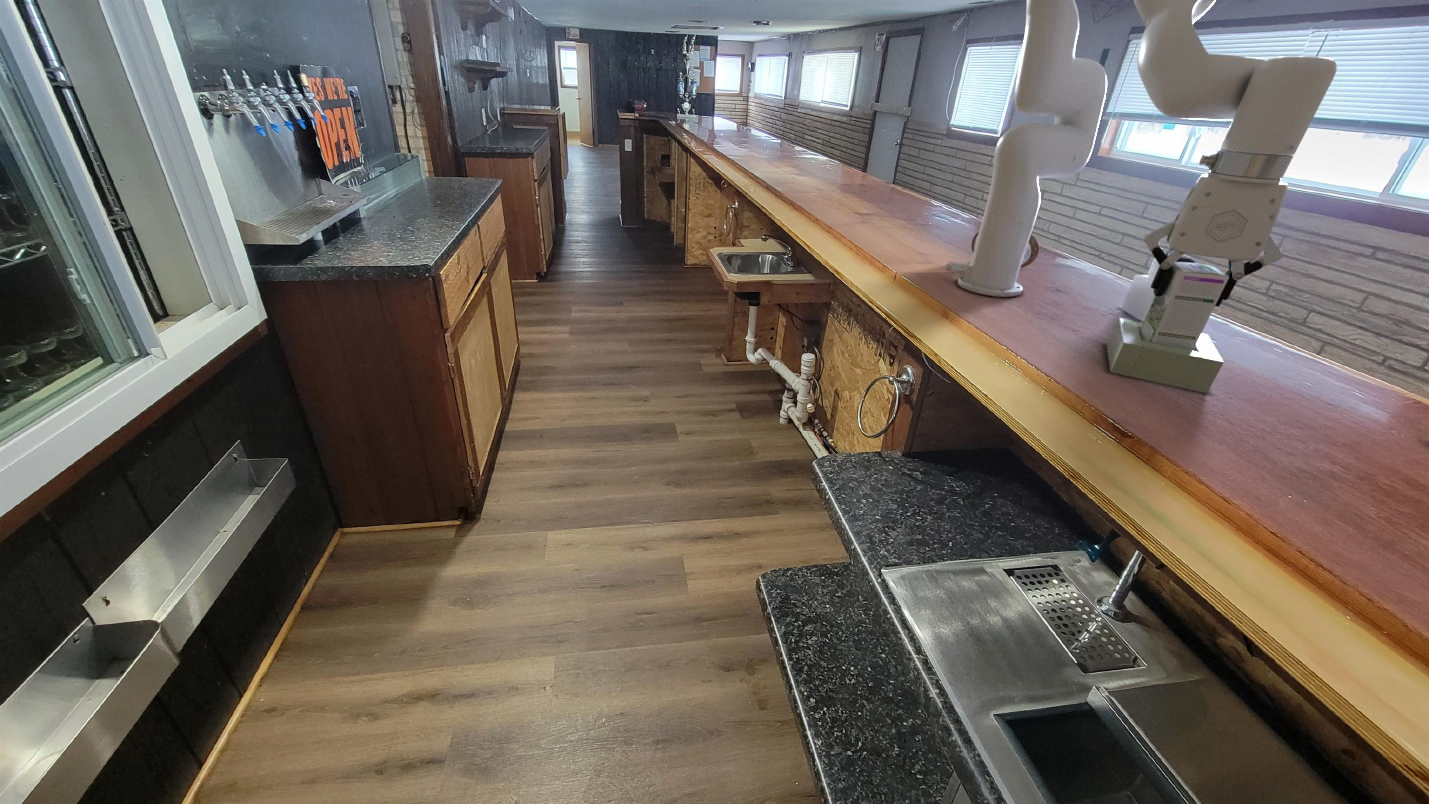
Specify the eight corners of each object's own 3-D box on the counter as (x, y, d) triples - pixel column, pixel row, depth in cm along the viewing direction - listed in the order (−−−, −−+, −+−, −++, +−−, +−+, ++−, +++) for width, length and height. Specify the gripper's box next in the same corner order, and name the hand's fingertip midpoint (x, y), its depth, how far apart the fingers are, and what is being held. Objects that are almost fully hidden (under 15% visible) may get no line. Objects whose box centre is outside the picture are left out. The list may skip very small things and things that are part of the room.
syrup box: (1184, 370, 84) (1234, 276, 77) (1139, 363, 86) (1184, 270, 78) (1171, 355, 89) (1216, 265, 82) (1128, 348, 90) (1169, 259, 83)
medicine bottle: (1157, 311, 111) (1185, 251, 106) (1179, 325, 105) (1210, 261, 99) (1119, 308, 112) (1145, 248, 106) (1139, 322, 106) (1167, 258, 100)
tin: (1032, 270, 134) (1044, 235, 129) (1027, 273, 132) (1039, 236, 127) (971, 256, 143) (980, 222, 139) (965, 258, 141) (975, 224, 137)
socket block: (1110, 372, 86) (1123, 342, 83) (1106, 345, 95) (1118, 318, 92) (1206, 393, 81) (1224, 362, 78) (1193, 363, 90) (1207, 334, 88)
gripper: (1172, 163, 74) (1118, 294, 83) (1346, 178, 67) (1266, 319, 76) (1165, 158, 80) (1114, 281, 89) (1324, 172, 73) (1252, 303, 82)
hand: (1185, 297), depth 82 cm, fingers closed on syrup box, 6 cm apart
